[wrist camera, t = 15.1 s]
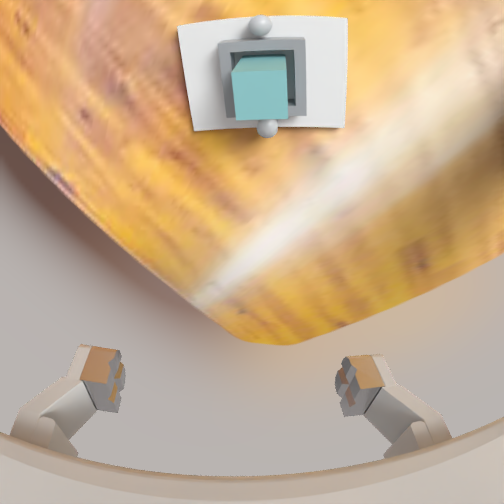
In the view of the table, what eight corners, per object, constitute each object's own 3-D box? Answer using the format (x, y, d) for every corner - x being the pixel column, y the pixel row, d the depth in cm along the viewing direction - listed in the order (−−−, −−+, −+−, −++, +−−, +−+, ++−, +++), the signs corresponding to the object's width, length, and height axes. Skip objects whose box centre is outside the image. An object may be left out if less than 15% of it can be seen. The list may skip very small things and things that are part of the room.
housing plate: (345, 15, 23) (353, 17, 20) (342, 125, 31) (348, 139, 29) (180, 23, 24) (168, 26, 22) (196, 128, 33) (188, 142, 31)
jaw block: (285, 54, 25) (286, 70, 20) (286, 91, 28) (288, 118, 23) (242, 55, 26) (231, 72, 20) (246, 92, 29) (236, 120, 23)
